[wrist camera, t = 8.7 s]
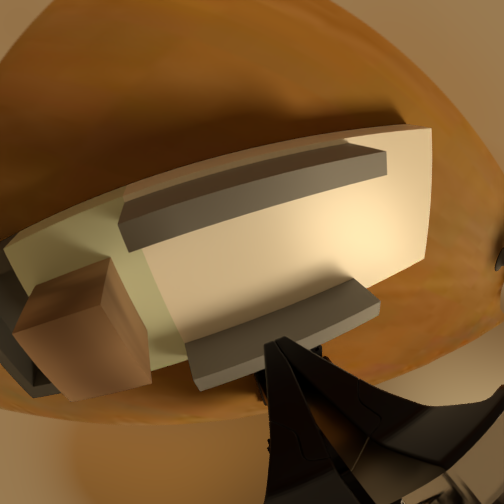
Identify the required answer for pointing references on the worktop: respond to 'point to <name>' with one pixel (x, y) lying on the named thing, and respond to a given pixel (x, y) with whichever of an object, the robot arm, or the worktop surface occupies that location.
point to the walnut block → (85, 333)
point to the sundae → (500, 260)
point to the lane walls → (244, 202)
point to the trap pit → (3, 323)
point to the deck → (246, 241)
